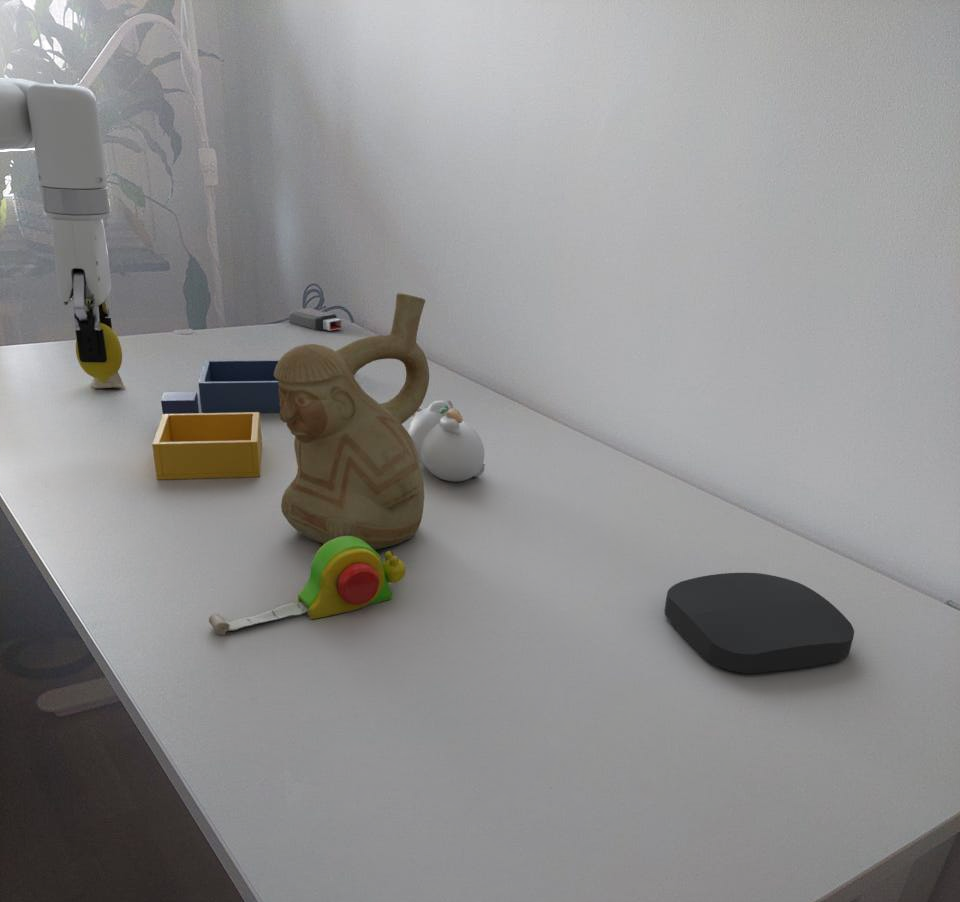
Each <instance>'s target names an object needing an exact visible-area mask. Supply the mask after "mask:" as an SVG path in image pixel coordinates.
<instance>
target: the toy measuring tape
mask: <svg viewBox="0 0 960 902" xmlns="http://www.w3.org/2000/svg"><path fill="white" fill-rule="evenodd" d="M384 558H385V561H384V562H383V560H382V557H381V556H380V554H379V553H378V552H377V551H376V550H373V549H372V548H371V547H370V546H369V545H368V544H367V543H366V542H364V541H363V540H361V539H359V538H357V537H353V536H342V537H337V538H335V539H332V540H330V541H328V542H327V543H325V544H322V545H321V547H319V549H318V550H317V551H316V553H315V554H314V557H313V559H312V561H311V565H310V571H309V577H308V580H307V582H306V583H305V585H304V587H303V588H302V589H301V590H300V591H299V592H298V594H297V602H290V603H285V604H284V605H281V606H278V607H276V608H273V609H271V610H269V611H266V612H262V613H259V614H256V615H253V616H249V617H242V618H237V619H235V620H232V621H228V620H227V618H226V617H225V615H223V614H222V613H216V612H215V613H212V614H211V615H210V616H209V617H208V622H209V623H210V625H211V627H212V628H213V630H214V632H215V633H216V634H218V635H220V636H225V635H226V633H227V632H228V631H231V632H232V631H237V630H239V629H240V630H241V629H243V628H247V627H251V626H254V625H257V624H258V625H259V624H263V623H268V622H273V621H277V620H278V621H279V620H281V619H284V618H287V617H294V616H296V617H297V616H302V615H303V614H305V613H306V615H307V617H308V618H309V619H311V620H316V619H321V618H325V617H329V616H334V615H339V614H343V613H347V612H352V611H355V610H358V609H361V608H364V607H365V606H367V605H372V604H376V603H381V602H385V601H389V600H392V598H393V591H392V589H391V587H390V586H389V584H397V583H399V582H400V581H402V580H403V579H404V578H405V576H406V573H407V572H406V571H407V568H406V564H405V563H404V562H403V561H402V560H401V559H400V558H398V557H397V556H396V555H394V553H393V551H390V550H387V551H386V552H385V553H384Z"/></svg>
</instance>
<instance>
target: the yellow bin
mask: <svg viewBox="0 0 960 902" xmlns="http://www.w3.org/2000/svg"><path fill="white" fill-rule="evenodd" d="M260 414H261V413H259V412H254V413H253V412H245V413H202V412H199V413H188V414H163V413H162V416H161V418H160V422H159V424H158V427H157V430H156V433H155V436H154V438H153V441H152V444H151V446H152V452H153V454H152V455H153V460H154V461H153V462H154V468H155V476H156V480H158V481H162V480H164V481H165V480H193V479H195V480H197V479H228V478H229V479H231V478H260V477H261V469H262V451H263V441H262V429H261V427H262V425H261V416H260Z"/></svg>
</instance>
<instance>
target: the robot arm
mask: <svg viewBox="0 0 960 902" xmlns="http://www.w3.org/2000/svg"><path fill="white" fill-rule="evenodd" d="M31 150H33V151H34V155H35V163H36V167H37V168H36V169H37V174H38V180H39V187H40V192H41V200H42V206H43V213H44V216H45V217H47V218H49V219H51V231H52V232H51V233H52V234H51V235H52V243H53V244H52V246H53V247H52V248H53V256H54V258H53V259H54V266H55V274H56V283H57V292H58V293H57V294H58V300H59V302H60V303H61V304H62V305H63V306H67V305H69V304H70V303H71V301H72V307H73V308H72V309H73V316H74V327H75V338H76V339H77V345H78V351H79V358H80V361H81V362H100V363H104V362H106V360H107V354H106V347H105V340H104V332H103V329H100V323H103V324H105V325H107V326H109V327H110V328H111V329H112V330H113V325H112V324H113V323H112V317H110V307H109V303H108V296H109V295H110V294H111V291H112V277H111V268H110V260H109V253H108V246H107V245H108V244H107V237H106V228H105V226H104V220H105V219H110V218H112V211H111V203H110V193H109V187H108V186H109V185H108V177H107V170H106V169H107V168H106V162H105V152H104V145H103V137H102V128H101V121H100V112H99V106H98V101H97V97H96V95H95V94H94V92H93V91H92V90H91V89H90V88H88V87H86V86H82V85H76V84H65V83H41V82H37V81H33V80H29V79H25V78H18V77H17V78H16V77H0V152H11V151H12V152H19V151H31Z"/></svg>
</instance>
